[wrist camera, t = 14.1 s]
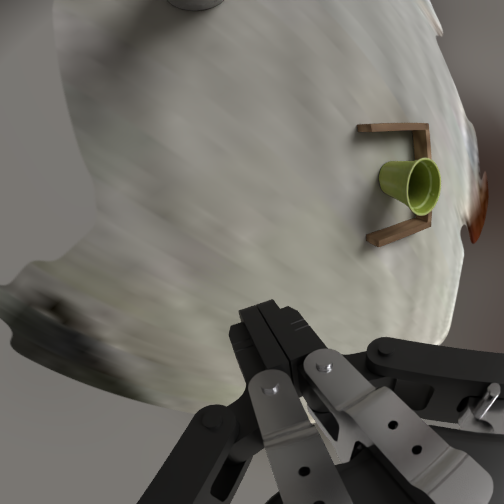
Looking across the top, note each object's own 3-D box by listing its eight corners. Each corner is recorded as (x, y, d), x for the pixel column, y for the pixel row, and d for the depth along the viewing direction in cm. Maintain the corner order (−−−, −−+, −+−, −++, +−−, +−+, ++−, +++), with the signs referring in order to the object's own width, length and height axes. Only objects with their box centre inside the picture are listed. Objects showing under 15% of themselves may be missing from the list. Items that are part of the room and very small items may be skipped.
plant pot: (397, 210, 46) (430, 223, 38) (364, 193, 43) (400, 204, 35) (411, 165, 44) (446, 172, 36) (380, 143, 40) (417, 147, 33)
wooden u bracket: (357, 124, 38) (370, 124, 35) (415, 122, 41) (428, 123, 38) (366, 240, 46) (378, 247, 43) (419, 221, 49) (431, 226, 46)
